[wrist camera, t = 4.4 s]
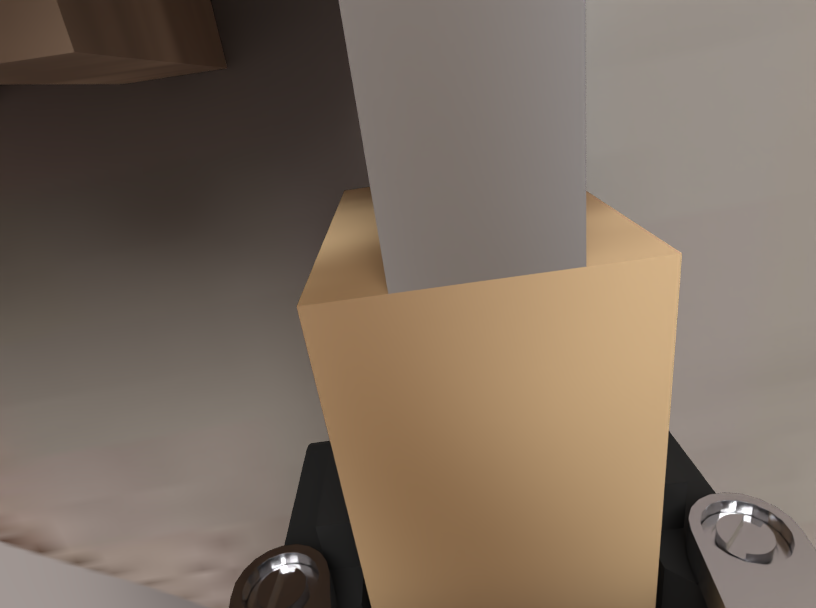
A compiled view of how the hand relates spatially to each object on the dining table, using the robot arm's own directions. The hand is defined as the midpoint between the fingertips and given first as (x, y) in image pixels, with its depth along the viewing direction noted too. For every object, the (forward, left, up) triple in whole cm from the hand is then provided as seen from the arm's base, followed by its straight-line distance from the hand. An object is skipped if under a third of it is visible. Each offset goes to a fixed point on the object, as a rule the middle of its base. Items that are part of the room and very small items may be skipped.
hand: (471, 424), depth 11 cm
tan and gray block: (0, -2, -1) cm, 2 cm away
